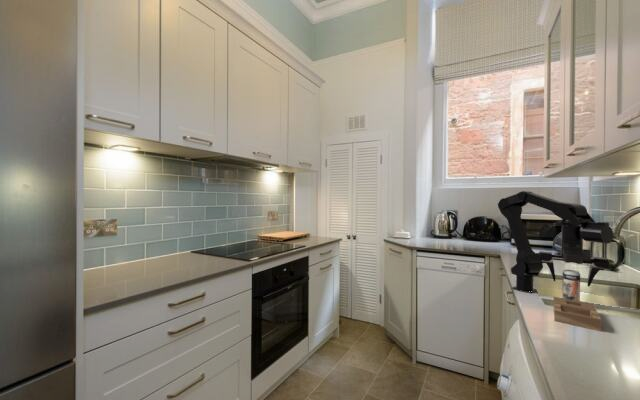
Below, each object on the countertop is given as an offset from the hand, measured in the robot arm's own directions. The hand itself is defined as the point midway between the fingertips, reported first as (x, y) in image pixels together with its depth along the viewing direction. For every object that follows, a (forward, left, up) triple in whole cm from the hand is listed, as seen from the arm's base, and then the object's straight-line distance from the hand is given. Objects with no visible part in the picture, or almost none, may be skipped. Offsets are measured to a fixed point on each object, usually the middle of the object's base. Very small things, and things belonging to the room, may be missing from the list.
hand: (571, 283), depth 100 cm
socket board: (+13, +5, -8) cm, 16 cm away
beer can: (0, 0, -8) cm, 8 cm away
